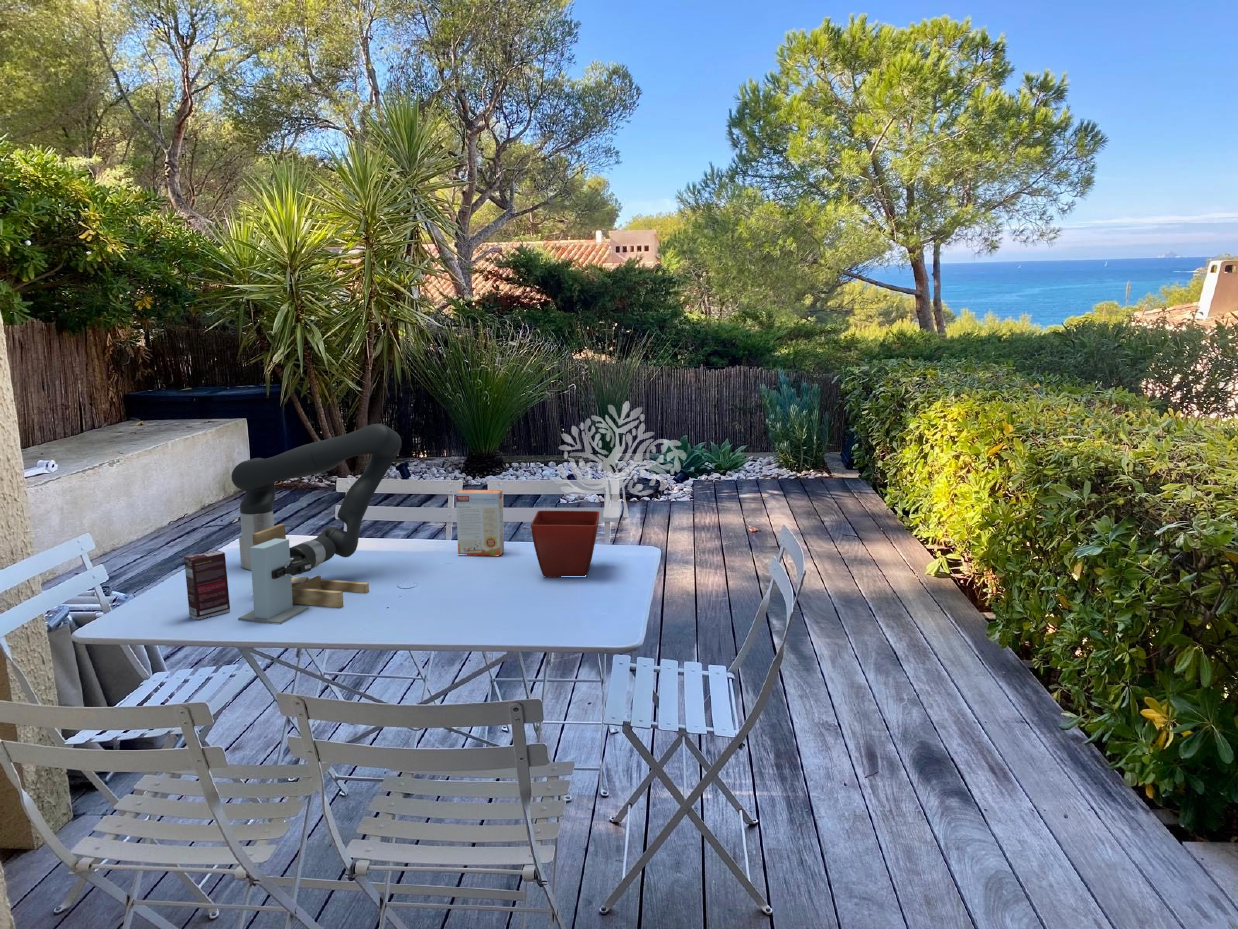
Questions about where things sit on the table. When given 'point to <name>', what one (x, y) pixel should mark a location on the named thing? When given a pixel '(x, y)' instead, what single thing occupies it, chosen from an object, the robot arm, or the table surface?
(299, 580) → the offcut slab upper
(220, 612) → the supplement box
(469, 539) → the cracker box
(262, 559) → the upright blue-grey block
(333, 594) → the frame
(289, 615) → the mat
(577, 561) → the plant pot
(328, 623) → the table surface
